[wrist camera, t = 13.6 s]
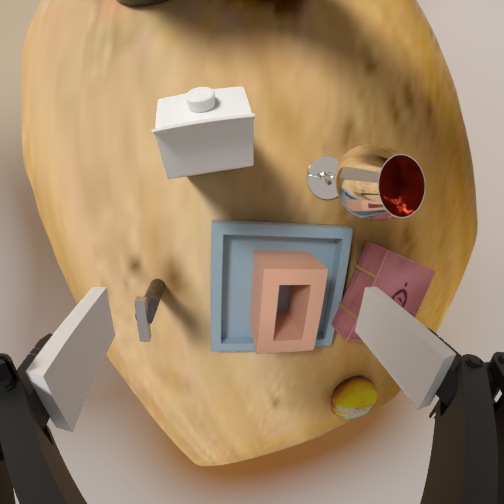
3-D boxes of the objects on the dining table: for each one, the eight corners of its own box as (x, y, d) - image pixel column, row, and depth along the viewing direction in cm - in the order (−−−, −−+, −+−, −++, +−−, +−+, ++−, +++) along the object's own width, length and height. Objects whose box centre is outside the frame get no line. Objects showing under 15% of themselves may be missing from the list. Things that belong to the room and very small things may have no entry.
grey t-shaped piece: (149, 268, 38) (130, 300, 28) (164, 269, 39) (148, 301, 29) (152, 301, 40) (136, 340, 30) (165, 302, 40) (153, 342, 30)
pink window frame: (296, 332, 44) (311, 361, 37) (248, 334, 43) (255, 365, 36) (307, 251, 40) (328, 269, 33) (254, 249, 39) (264, 269, 32)
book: (362, 239, 39) (384, 248, 35) (416, 262, 45) (435, 271, 40) (326, 323, 42) (343, 339, 37) (385, 331, 47) (401, 343, 43)
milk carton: (237, 168, 36) (262, 164, 18) (185, 176, 36) (158, 180, 18) (231, 118, 34) (249, 69, 16) (179, 126, 33) (147, 84, 15)
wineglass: (291, 190, 38) (350, 207, 21) (313, 139, 36) (385, 122, 19) (337, 214, 40) (413, 245, 23) (358, 166, 38) (442, 170, 21)
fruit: (315, 404, 51) (334, 423, 43) (342, 364, 52) (365, 378, 45) (346, 415, 54) (366, 431, 46) (371, 379, 55) (393, 392, 47)
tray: (212, 219, 38) (212, 222, 35) (345, 226, 41) (353, 229, 38) (211, 342, 43) (211, 351, 41) (326, 338, 46) (331, 345, 44)
